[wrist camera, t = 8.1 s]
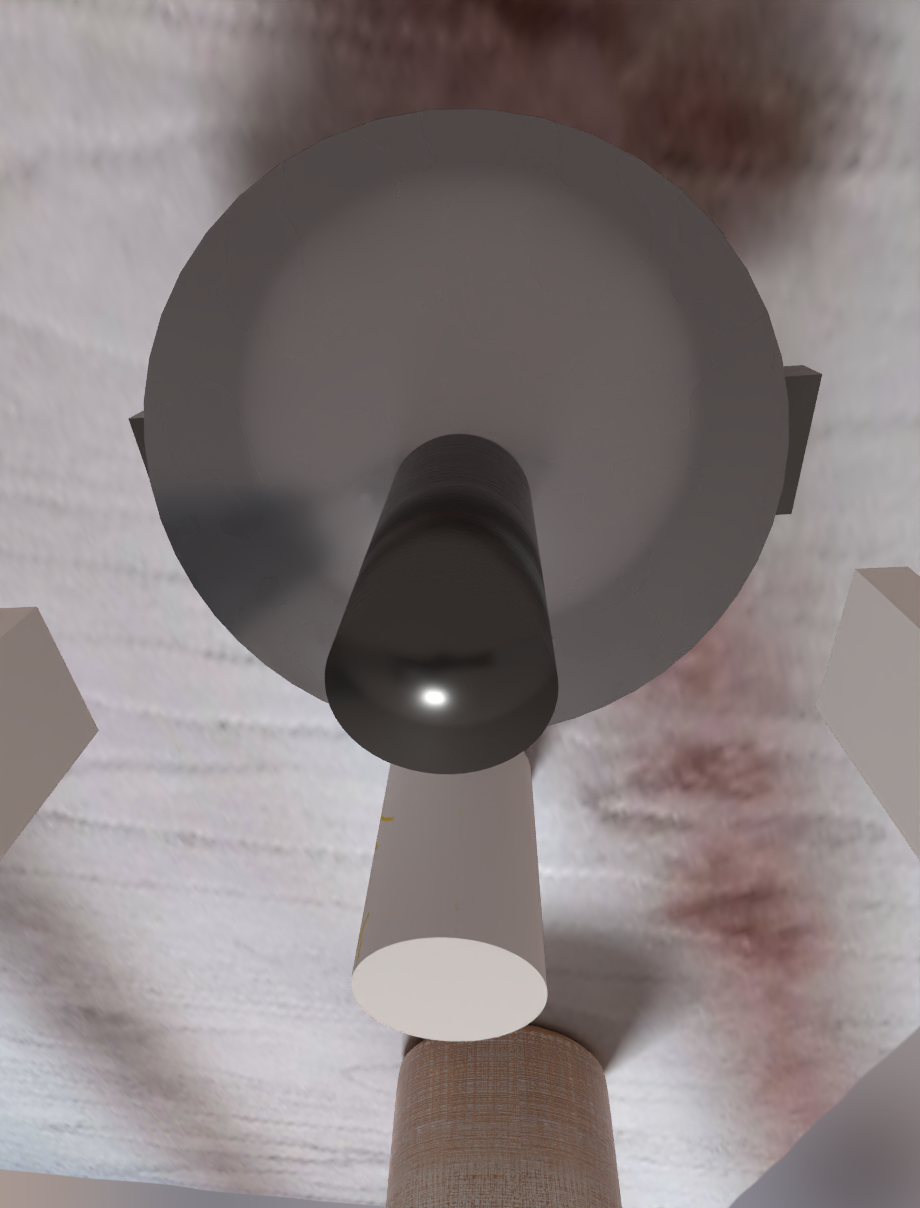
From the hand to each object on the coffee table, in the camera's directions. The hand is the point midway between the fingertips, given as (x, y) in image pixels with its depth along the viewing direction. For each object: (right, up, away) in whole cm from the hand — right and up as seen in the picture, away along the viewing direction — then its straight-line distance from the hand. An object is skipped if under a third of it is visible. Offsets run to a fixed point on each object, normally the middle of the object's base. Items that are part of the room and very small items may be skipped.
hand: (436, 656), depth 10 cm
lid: (0, +4, +7) cm, 8 cm away
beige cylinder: (0, -9, +26) cm, 27 cm away
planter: (+4, -39, +44) cm, 60 cm away
